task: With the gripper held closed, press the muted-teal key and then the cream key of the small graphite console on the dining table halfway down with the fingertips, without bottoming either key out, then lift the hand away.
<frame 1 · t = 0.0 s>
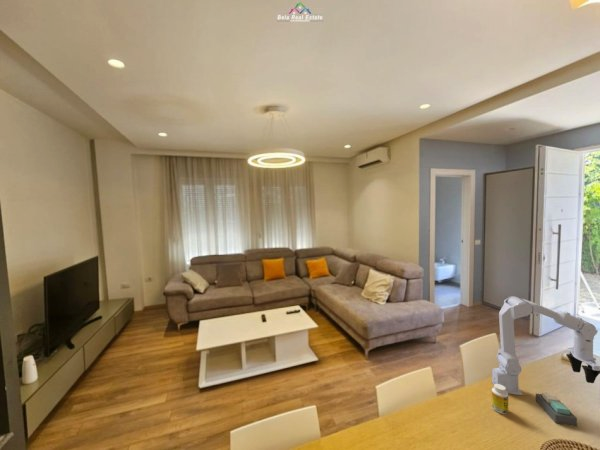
hand: (583, 376, 112), 10 cm above the table, fingers open, 7 cm apart
supplement bottle: (499, 410, 108), on the table
key teal: (559, 407, 103), point 4 cm above the table, slide at 0.0 cm
key cream: (550, 398, 108), point 4 cm above the table, slide at 0.0 cm
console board: (555, 412, 105), on the table
bezel: (555, 407, 105), on the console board, point 2 cm above the table
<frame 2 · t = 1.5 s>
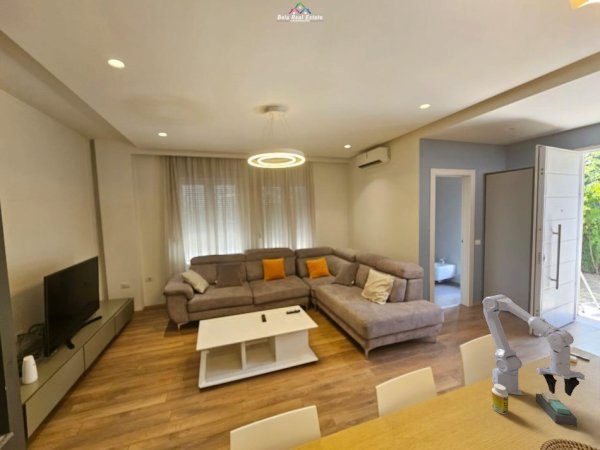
hand: (559, 393, 102), 10 cm above the table, fingers open, 5 cm apart
nothing on the table moved.
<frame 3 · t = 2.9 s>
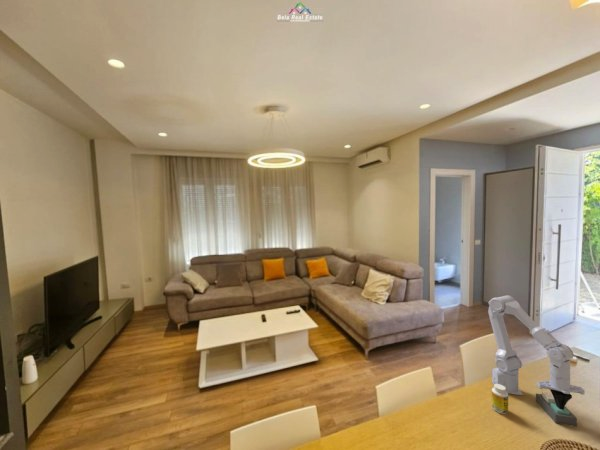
hand: (559, 407, 103), 4 cm above the table, fingers closed, pressing on key teal
key teal: (559, 409, 103), point 3 cm above the table, slide at 0.9 cm, touching gripper
everything else where it was.
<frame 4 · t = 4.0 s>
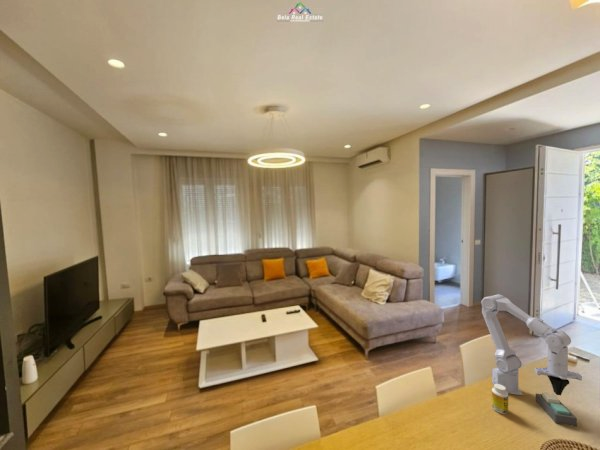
hand: (557, 393, 104), 9 cm above the table, fingers closed
key teal: (559, 409, 103), point 3 cm above the table, slide at 0.9 cm
everything else where it was.
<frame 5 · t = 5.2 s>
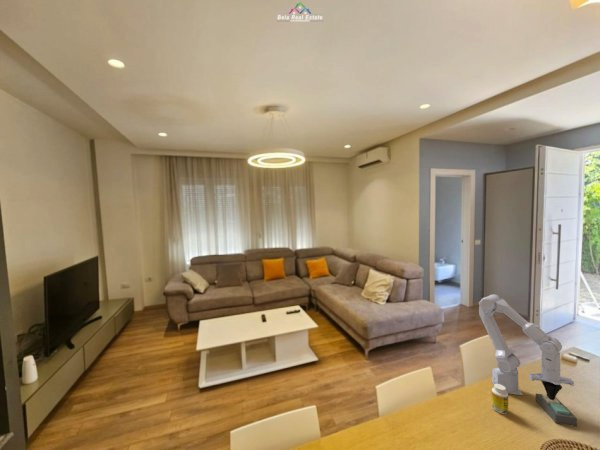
hand: (550, 398, 108), 4 cm above the table, fingers closed, pressing on key cream
key cream: (550, 400, 108), point 3 cm above the table, slide at 0.9 cm, touching gripper
everything else where it was.
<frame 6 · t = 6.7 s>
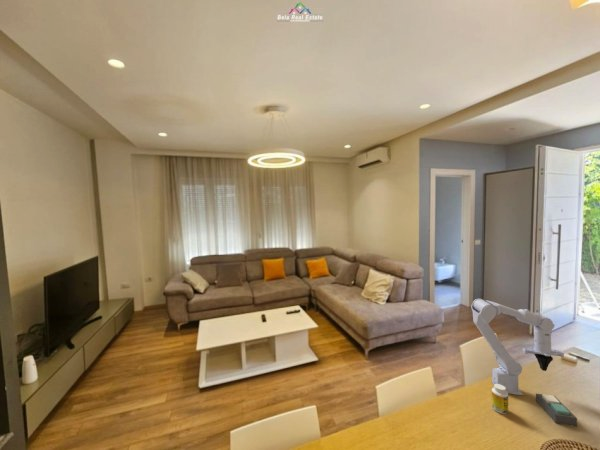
hand: (543, 369, 118), 10 cm above the table, fingers closed
key cream: (550, 400, 108), point 3 cm above the table, slide at 0.9 cm
everything else where it was.
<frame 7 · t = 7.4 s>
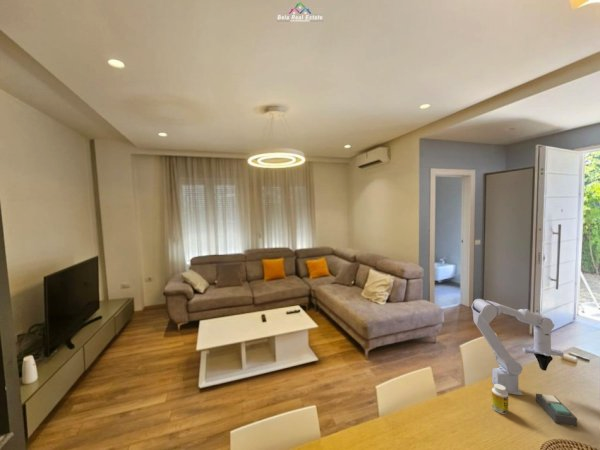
hand: (542, 369, 118), 10 cm above the table, fingers closed
nothing on the table moved.
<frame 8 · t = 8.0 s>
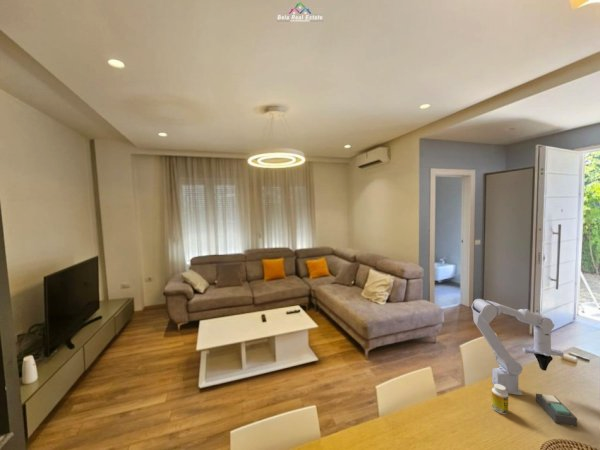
hand: (542, 369, 118), 10 cm above the table, fingers closed
nothing on the table moved.
at the end: key teal slide at 0.9 cm; key cream slide at 0.9 cm; key cream touching nothing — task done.
